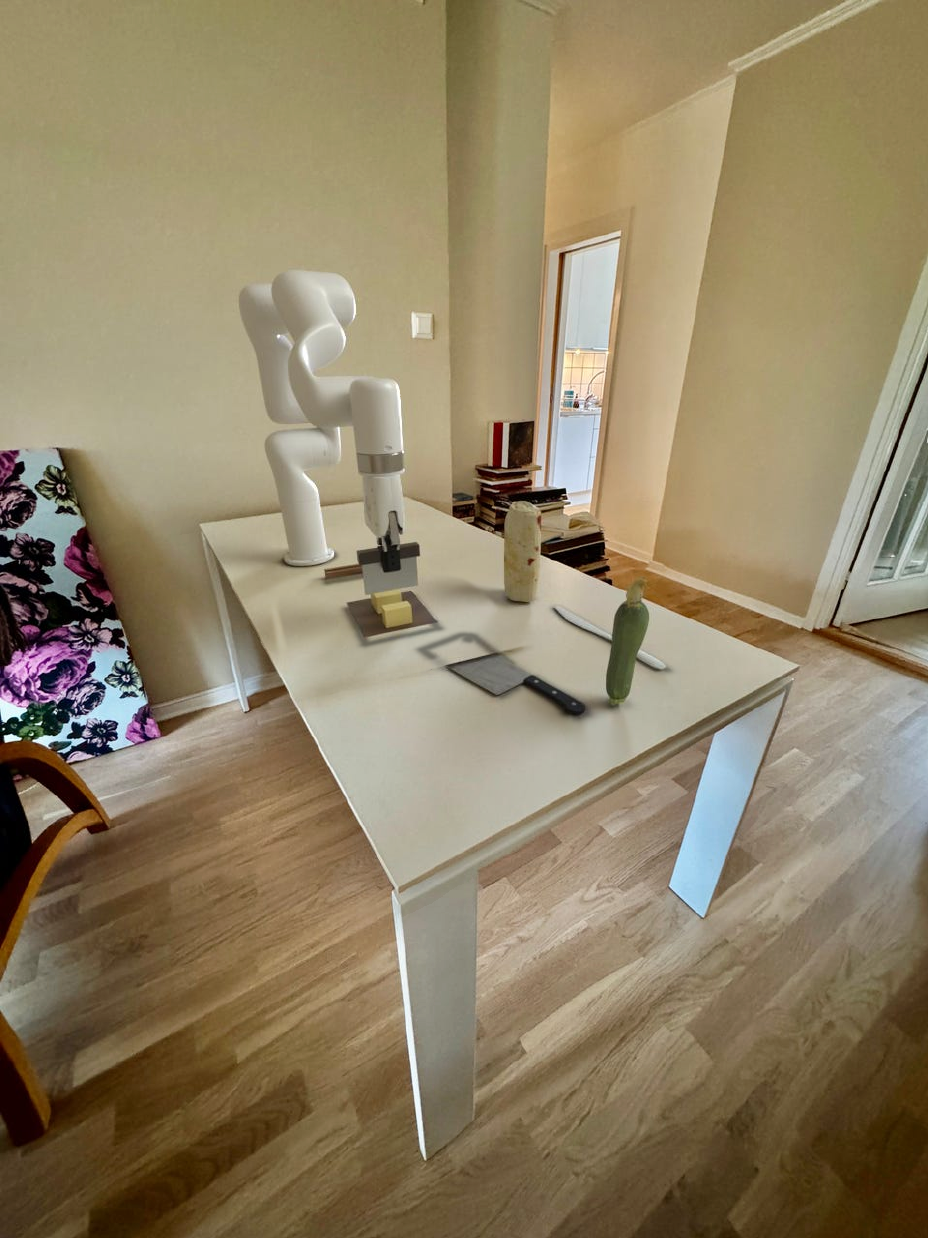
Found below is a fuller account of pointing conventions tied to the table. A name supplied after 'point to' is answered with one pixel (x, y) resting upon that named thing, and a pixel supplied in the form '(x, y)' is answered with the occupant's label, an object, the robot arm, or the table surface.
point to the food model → (522, 551)
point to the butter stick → (385, 599)
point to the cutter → (392, 580)
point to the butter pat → (396, 614)
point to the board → (373, 621)
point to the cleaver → (510, 679)
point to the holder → (343, 571)
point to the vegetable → (626, 642)
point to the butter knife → (590, 627)
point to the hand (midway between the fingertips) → (390, 567)
